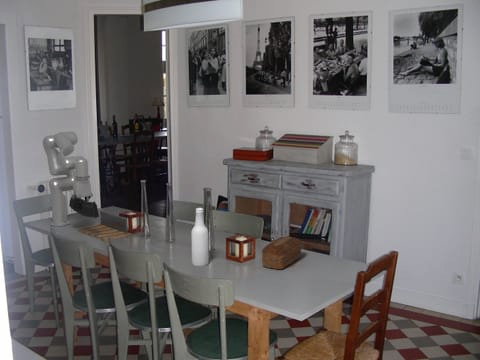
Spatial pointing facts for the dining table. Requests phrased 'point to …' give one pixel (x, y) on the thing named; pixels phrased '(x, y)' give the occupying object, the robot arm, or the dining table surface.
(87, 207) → the magazine
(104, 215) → the shelf wall
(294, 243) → the bread
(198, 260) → the alcohol
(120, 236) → the shelf board
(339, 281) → the dining table surface
